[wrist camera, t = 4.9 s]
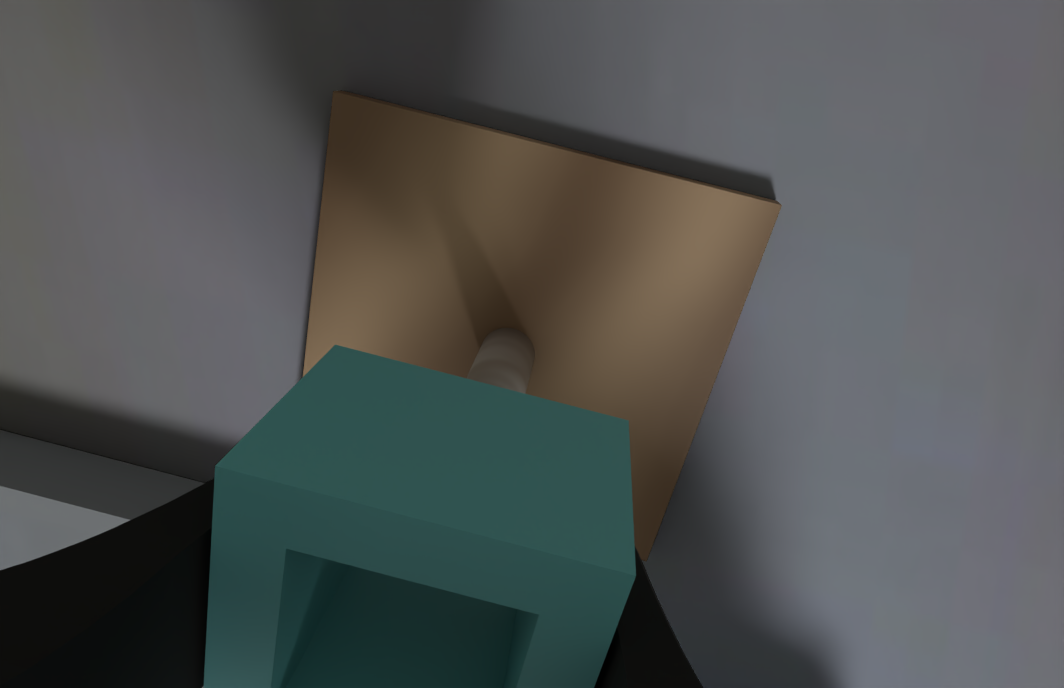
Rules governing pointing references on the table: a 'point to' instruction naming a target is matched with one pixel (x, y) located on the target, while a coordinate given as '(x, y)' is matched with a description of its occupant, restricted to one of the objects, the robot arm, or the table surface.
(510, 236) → the stake board
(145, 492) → the tray
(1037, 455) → the table surface
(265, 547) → the teal hollow block
